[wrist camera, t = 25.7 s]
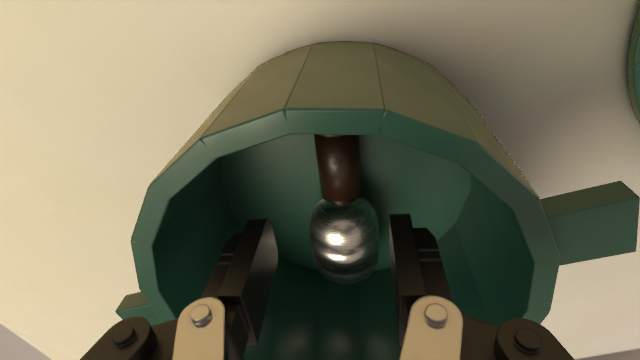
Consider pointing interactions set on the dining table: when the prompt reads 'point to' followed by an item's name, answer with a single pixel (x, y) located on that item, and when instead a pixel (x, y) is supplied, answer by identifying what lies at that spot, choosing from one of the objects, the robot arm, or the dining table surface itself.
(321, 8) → the dining table surface
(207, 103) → the dining table surface
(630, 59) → the lid
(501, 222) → the pot
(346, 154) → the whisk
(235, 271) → the robot arm
